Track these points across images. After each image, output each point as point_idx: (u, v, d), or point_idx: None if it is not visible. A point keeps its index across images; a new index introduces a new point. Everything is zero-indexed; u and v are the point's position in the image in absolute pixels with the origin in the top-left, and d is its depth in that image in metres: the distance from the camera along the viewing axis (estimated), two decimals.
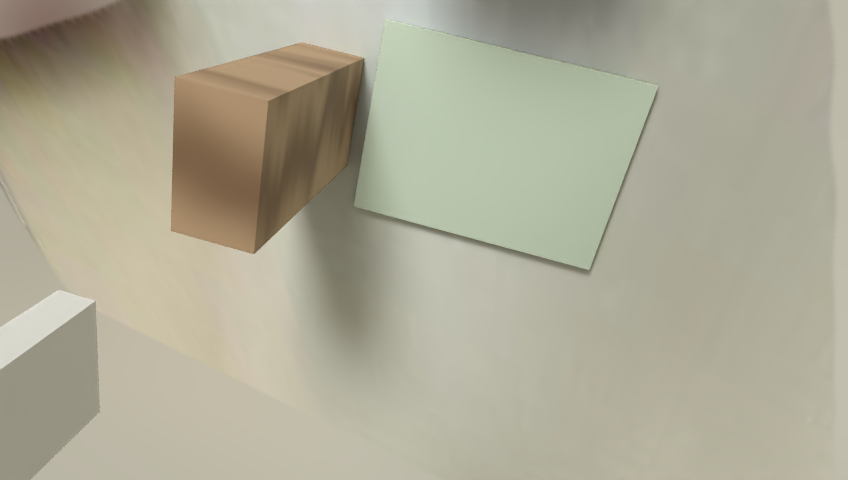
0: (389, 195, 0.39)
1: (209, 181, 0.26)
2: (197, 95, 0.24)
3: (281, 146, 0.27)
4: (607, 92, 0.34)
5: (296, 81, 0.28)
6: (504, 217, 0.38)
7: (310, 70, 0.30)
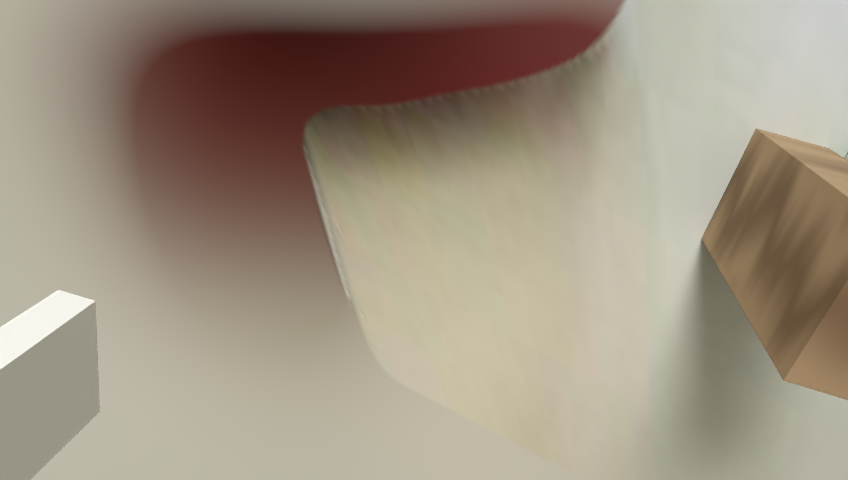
0: None
1: None
2: None
3: None
4: None
5: None
6: None
7: None
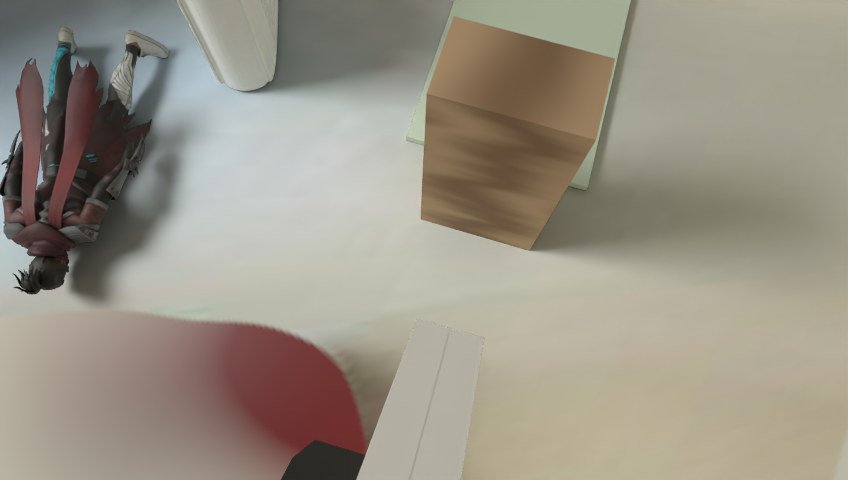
0: None
1: (535, 85, 0.24)
2: (445, 76, 0.24)
3: None
4: None
5: None
6: None
7: None
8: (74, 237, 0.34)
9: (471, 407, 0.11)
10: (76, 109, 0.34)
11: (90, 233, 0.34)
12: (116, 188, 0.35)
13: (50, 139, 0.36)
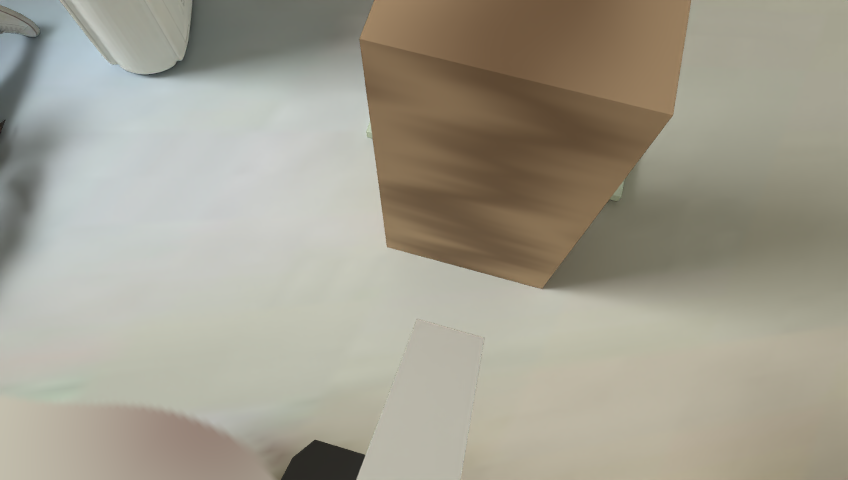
0: None
1: (555, 20, 0.14)
2: (394, 9, 0.14)
3: None
4: None
5: None
6: None
7: None
8: None
9: (471, 407, 0.11)
10: None
11: None
12: None
13: None
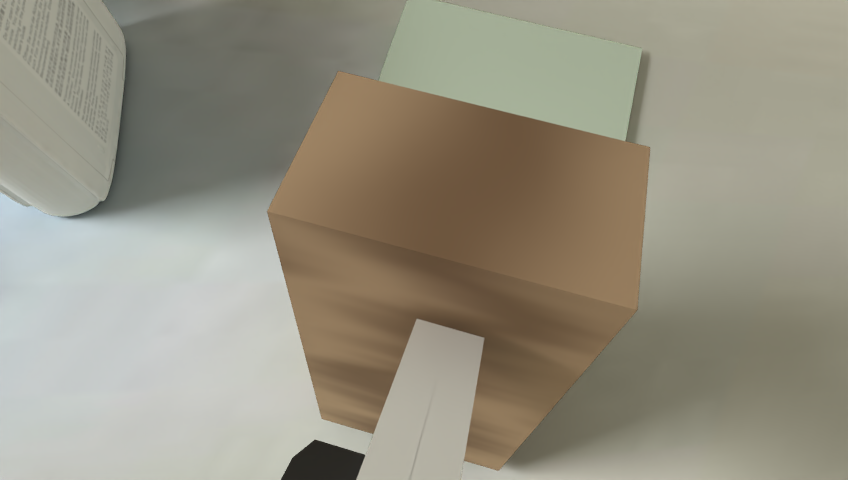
0: None
1: (497, 195, 0.12)
2: (312, 177, 0.12)
3: None
4: (414, 38, 0.30)
5: None
6: None
7: None
8: None
9: (471, 407, 0.11)
10: None
11: None
12: None
13: None
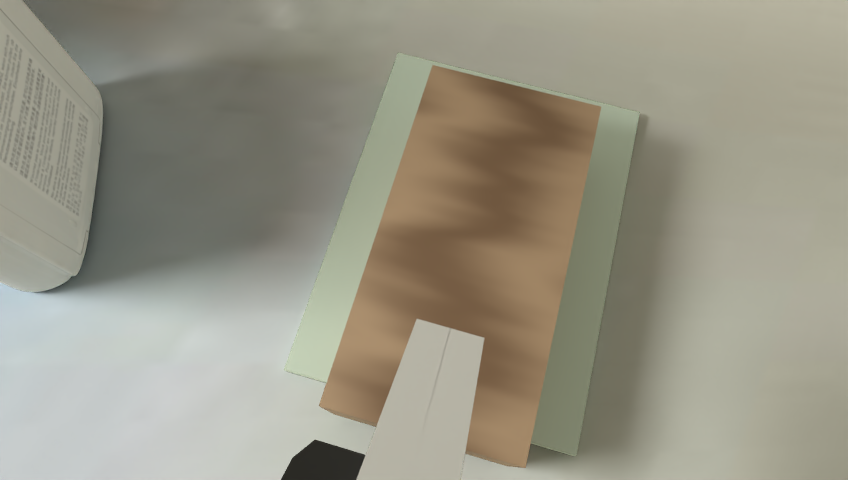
0: (551, 388, 0.24)
1: None
2: None
3: None
4: (403, 100, 0.28)
5: None
6: None
7: None
8: None
9: (471, 407, 0.11)
10: None
11: None
12: None
13: None
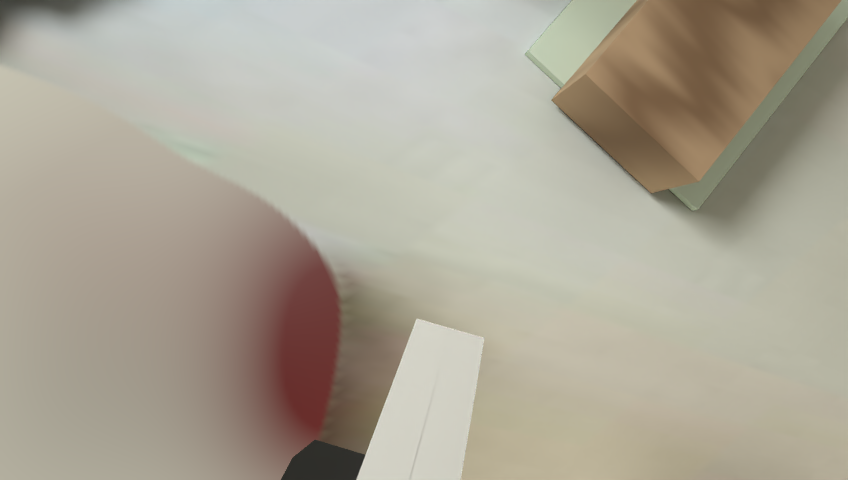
0: None
1: None
2: None
3: None
4: None
5: None
6: None
7: None
8: None
9: (471, 407, 0.11)
10: None
11: None
12: None
13: None
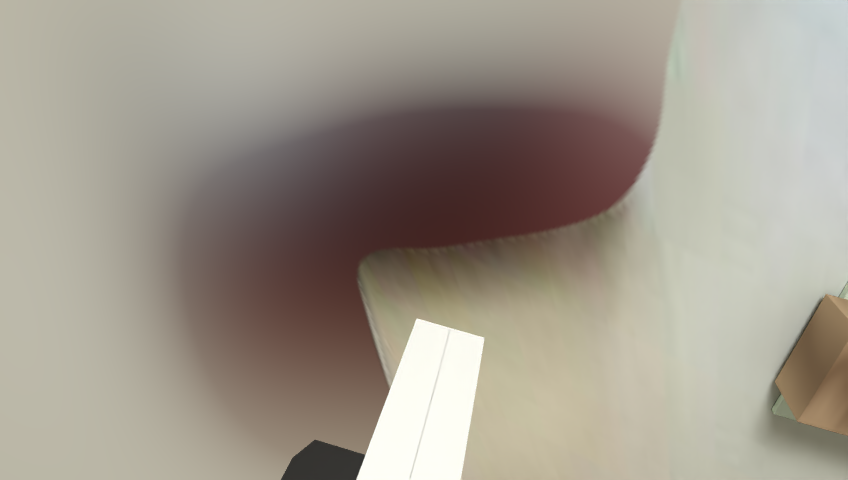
0: None
1: None
2: None
3: None
4: None
5: None
6: None
7: None
8: None
9: (471, 407, 0.11)
10: None
11: None
12: None
13: None
